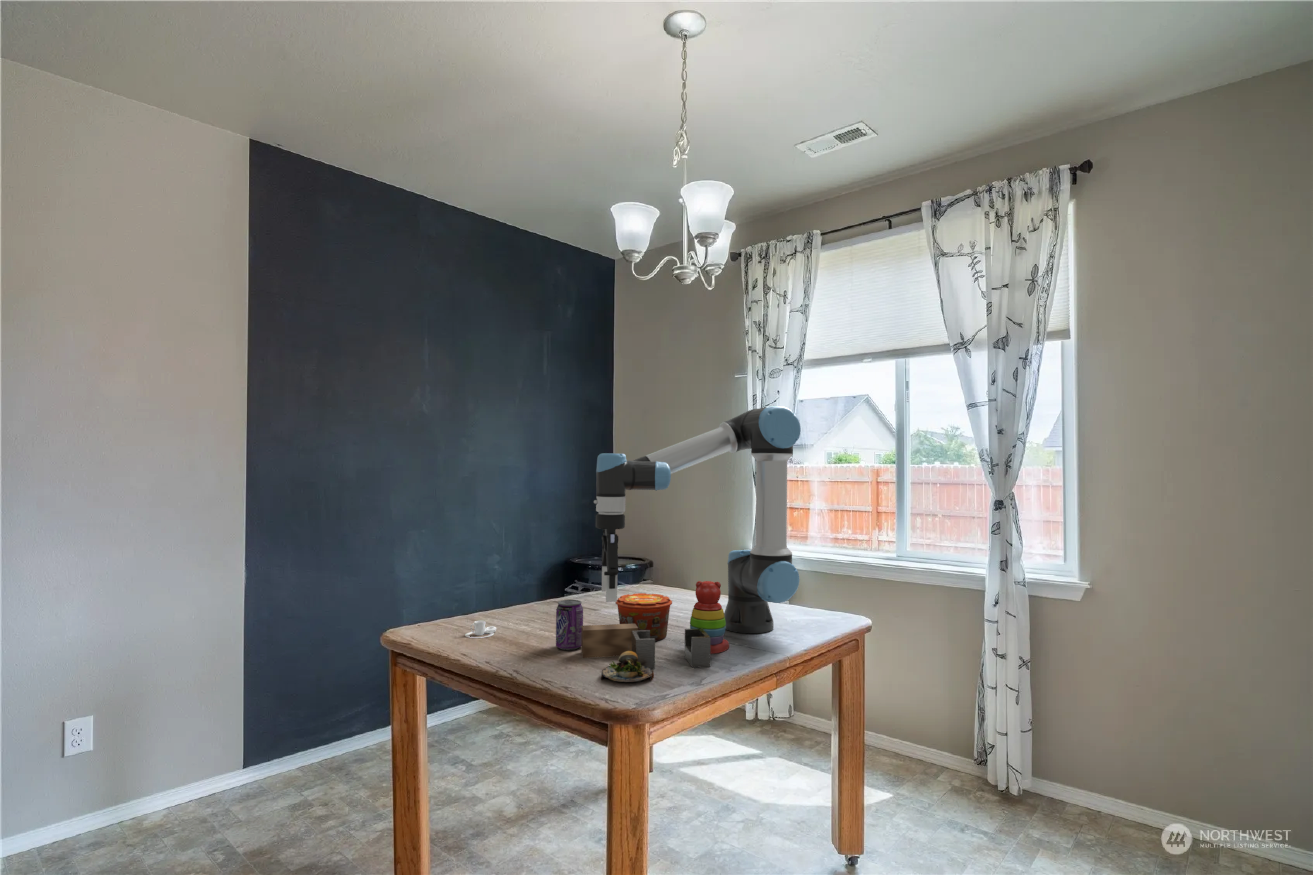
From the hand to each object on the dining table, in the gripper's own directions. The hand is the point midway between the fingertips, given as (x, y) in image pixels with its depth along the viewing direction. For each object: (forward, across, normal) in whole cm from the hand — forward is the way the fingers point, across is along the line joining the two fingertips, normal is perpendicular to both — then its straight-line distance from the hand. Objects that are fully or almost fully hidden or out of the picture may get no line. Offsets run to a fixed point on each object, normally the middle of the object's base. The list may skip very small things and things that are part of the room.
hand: (609, 596), depth 177 cm
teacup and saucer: (+16, -23, -32) cm, 42 cm away
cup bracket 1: (+14, +10, +8) cm, 19 cm away
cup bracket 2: (+14, +10, +21) cm, 27 cm away
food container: (+15, -16, +11) cm, 25 cm away
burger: (+15, +20, +3) cm, 25 cm away
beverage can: (+15, -7, -10) cm, 19 cm away
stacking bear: (+14, -1, +26) cm, 30 cm away
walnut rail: (+15, 0, 0) cm, 15 cm away
